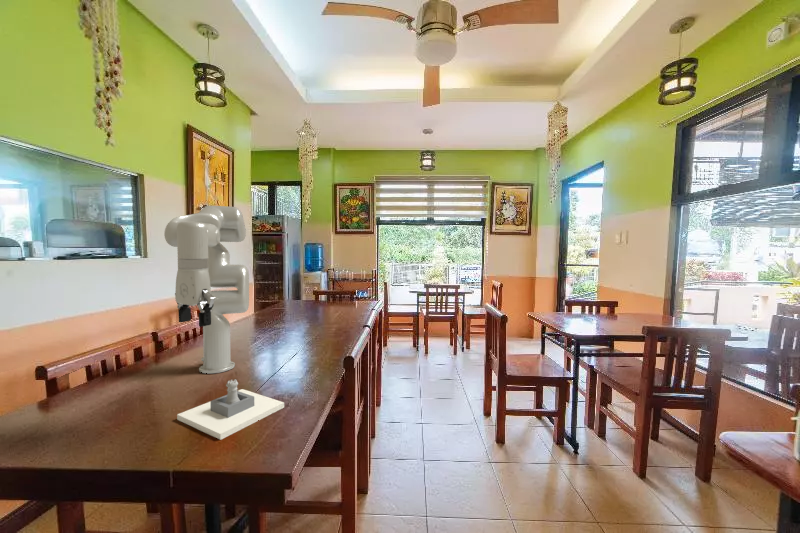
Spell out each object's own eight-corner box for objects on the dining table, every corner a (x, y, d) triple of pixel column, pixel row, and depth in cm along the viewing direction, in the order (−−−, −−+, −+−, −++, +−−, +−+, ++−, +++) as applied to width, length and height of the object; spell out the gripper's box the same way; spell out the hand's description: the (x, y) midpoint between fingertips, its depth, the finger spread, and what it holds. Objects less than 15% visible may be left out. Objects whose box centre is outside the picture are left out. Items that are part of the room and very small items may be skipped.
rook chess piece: (244, 405, 97) (244, 379, 96) (232, 412, 92) (232, 384, 92) (232, 403, 98) (232, 377, 98) (220, 410, 94) (219, 382, 93)
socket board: (177, 419, 91) (177, 404, 91) (242, 393, 109) (242, 380, 108) (220, 439, 81) (220, 423, 81) (284, 407, 99) (284, 393, 99)
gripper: (162, 264, 95) (164, 322, 96) (198, 267, 87) (199, 330, 88) (189, 263, 101) (190, 317, 102) (224, 265, 93) (225, 324, 94)
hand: (194, 323), depth 95 cm, fingers open, 9 cm apart
